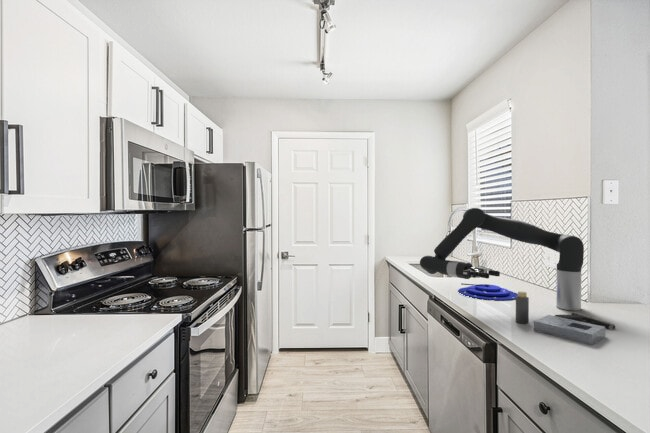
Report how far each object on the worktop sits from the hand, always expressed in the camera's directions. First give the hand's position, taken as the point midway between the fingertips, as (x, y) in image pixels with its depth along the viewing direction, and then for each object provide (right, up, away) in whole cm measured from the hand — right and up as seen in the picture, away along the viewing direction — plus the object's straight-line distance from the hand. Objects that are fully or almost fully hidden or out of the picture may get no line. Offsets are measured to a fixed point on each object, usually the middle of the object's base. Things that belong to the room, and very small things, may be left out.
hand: (494, 274), depth 148 cm
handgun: (+30, -18, -10) cm, 37 cm away
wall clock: (+16, -18, +40) cm, 47 cm away
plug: (+7, -17, -9) cm, 21 cm away
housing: (+16, -17, -22) cm, 32 cm away
